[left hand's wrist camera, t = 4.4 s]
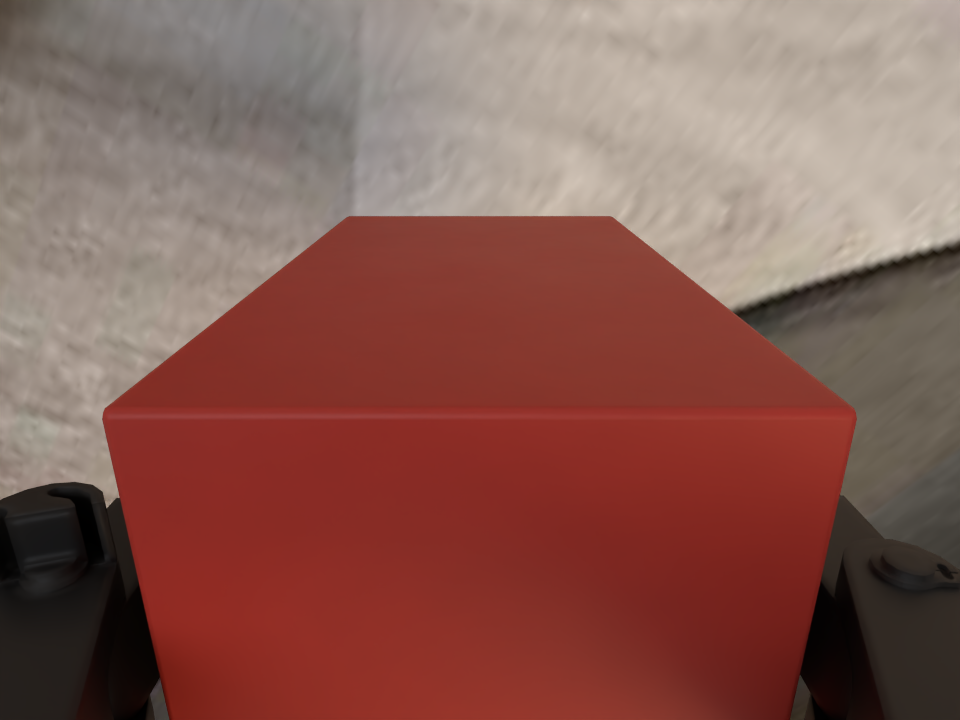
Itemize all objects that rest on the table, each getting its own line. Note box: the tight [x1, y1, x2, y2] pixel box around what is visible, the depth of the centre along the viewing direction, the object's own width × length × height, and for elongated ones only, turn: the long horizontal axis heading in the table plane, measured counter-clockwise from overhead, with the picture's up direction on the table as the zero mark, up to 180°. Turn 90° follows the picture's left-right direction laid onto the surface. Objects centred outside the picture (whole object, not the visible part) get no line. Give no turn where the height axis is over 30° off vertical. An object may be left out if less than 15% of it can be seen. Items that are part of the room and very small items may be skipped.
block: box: [102, 216, 857, 720], centre depth 12 cm, size 6×7×11 cm
